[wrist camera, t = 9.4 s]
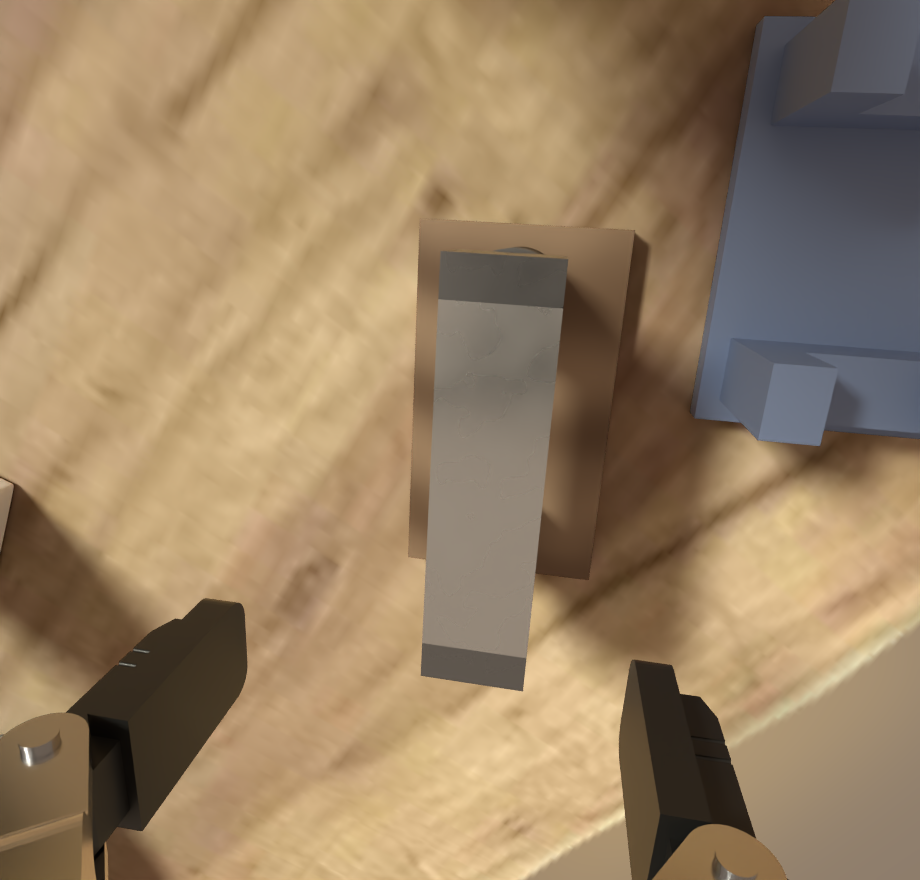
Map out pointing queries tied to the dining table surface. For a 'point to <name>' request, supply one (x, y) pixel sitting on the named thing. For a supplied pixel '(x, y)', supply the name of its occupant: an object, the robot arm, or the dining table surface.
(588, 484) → the stand
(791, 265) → the notched cradle
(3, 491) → the milk carton
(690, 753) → the robot arm
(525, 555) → the steel bar
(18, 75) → the dining table surface
